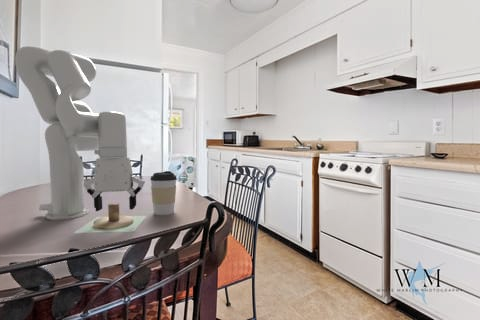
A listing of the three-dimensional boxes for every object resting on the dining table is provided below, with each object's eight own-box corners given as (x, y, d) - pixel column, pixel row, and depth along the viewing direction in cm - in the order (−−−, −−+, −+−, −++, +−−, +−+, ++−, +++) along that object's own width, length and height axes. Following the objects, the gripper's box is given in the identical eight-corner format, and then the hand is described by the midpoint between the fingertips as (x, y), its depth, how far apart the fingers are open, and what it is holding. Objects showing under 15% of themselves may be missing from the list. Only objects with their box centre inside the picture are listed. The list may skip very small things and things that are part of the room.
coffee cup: (169, 217, 88) (169, 173, 87) (145, 216, 90) (145, 173, 89) (180, 211, 97) (180, 171, 96) (158, 209, 98) (158, 170, 98)
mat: (72, 234, 71) (72, 233, 71) (97, 217, 87) (97, 216, 87) (133, 232, 73) (133, 231, 73) (146, 216, 89) (146, 215, 89)
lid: (86, 229, 73) (86, 209, 73) (102, 218, 84) (101, 200, 84) (127, 228, 75) (127, 208, 75) (137, 218, 86) (137, 200, 85)
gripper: (76, 154, 73) (79, 213, 74) (140, 153, 76) (142, 210, 76) (88, 153, 81) (91, 208, 82) (146, 152, 83) (148, 205, 84)
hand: (115, 209), depth 79 cm, fingers open, 9 cm apart
